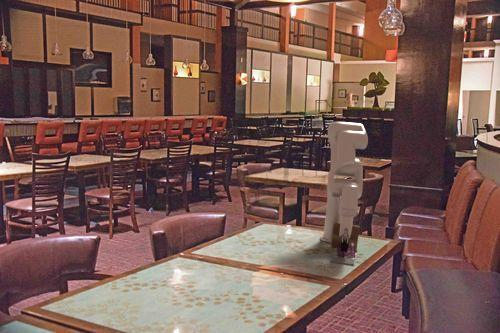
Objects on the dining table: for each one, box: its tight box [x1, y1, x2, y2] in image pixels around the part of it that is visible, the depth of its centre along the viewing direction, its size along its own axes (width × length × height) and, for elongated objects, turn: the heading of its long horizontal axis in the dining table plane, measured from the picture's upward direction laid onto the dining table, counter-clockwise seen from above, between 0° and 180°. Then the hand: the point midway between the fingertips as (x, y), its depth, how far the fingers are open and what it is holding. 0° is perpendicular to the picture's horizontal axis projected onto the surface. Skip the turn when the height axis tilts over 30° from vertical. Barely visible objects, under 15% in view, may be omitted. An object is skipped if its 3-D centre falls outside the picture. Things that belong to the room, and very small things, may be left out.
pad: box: [330, 255, 355, 267], centre depth 226 cm, size 8×10×1 cm
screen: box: [330, 223, 360, 253], centre depth 244 cm, size 2×12×12 cm, turn 78°
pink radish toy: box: [336, 243, 356, 259], centre depth 234 cm, size 7×5×9 cm
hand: (344, 248), depth 233 cm, fingers open, 9 cm apart
